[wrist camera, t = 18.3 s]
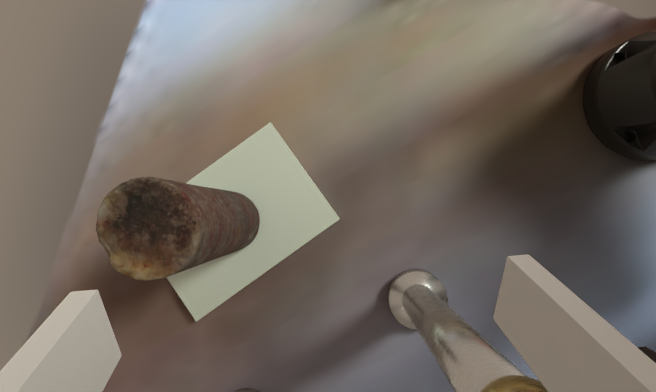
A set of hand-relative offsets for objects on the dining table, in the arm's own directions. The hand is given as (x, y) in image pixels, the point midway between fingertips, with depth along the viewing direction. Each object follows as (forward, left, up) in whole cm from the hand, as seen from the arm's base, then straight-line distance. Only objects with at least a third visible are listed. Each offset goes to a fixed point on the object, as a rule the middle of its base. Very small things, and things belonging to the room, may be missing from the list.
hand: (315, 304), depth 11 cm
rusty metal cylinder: (-3, -12, -31) cm, 33 cm away
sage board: (-3, -12, -32) cm, 34 cm away
